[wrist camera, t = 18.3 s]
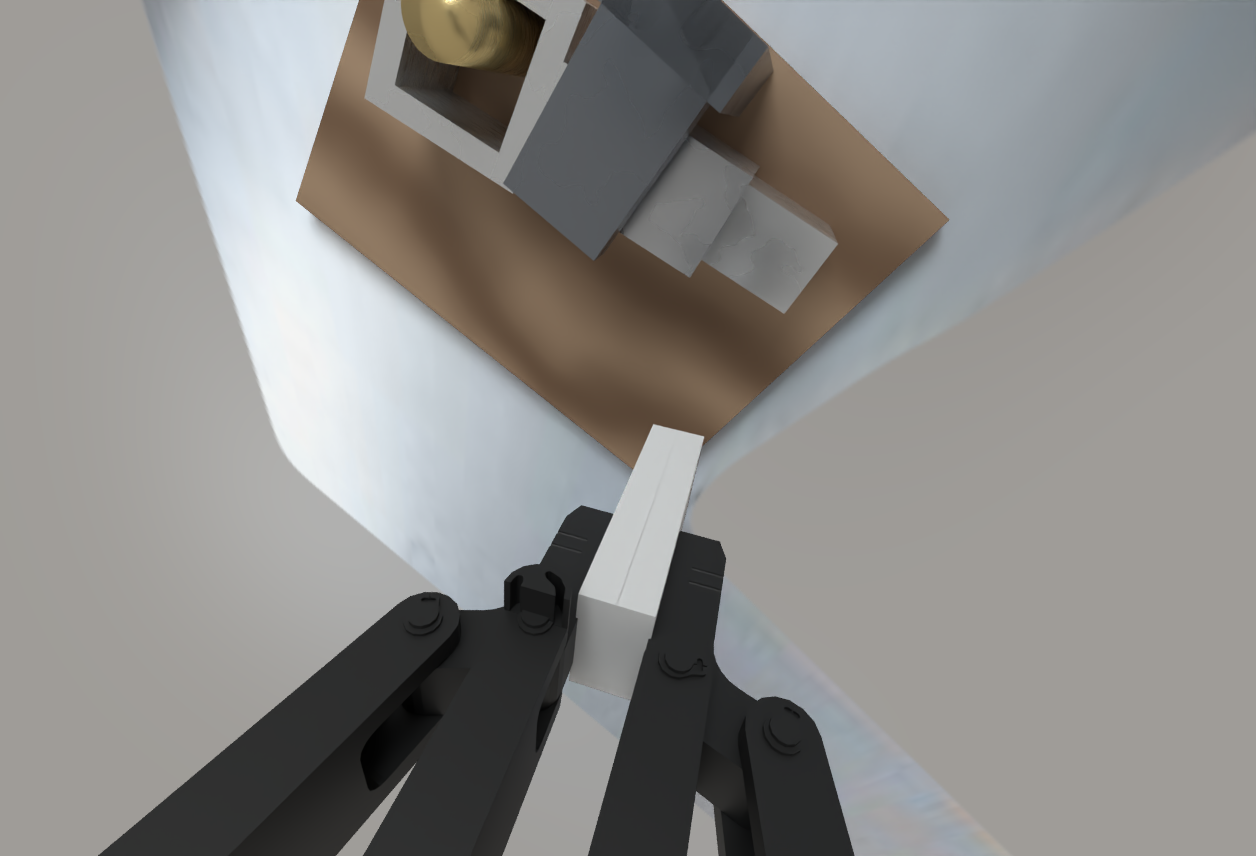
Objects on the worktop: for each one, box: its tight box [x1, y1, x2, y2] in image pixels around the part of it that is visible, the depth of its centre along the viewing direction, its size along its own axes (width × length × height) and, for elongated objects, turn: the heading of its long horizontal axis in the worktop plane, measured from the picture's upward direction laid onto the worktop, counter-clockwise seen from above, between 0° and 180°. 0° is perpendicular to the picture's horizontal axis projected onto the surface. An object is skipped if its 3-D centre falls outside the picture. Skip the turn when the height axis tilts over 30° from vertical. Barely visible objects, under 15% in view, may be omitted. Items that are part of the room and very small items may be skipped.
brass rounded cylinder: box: [401, 0, 546, 77], centre depth 21 cm, size 3×3×8 cm
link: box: [365, 0, 838, 314], centre depth 22 cm, size 19×7×6 cm, turn 61°
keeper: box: [503, 0, 774, 261], centre depth 20 cm, size 8×5×9 cm, turn 142°
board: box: [296, 0, 949, 469], centre depth 27 cm, size 20×26×1 cm
